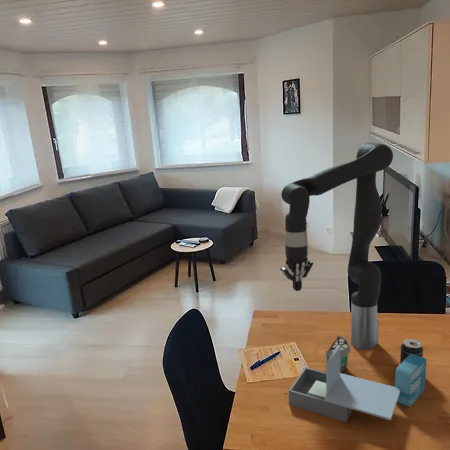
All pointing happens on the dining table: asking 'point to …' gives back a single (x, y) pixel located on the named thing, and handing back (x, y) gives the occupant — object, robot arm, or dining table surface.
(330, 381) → the lid
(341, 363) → the food container
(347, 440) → the dining table surface
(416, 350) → the beverage can
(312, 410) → the box
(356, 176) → the robot arm
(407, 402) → the data package
